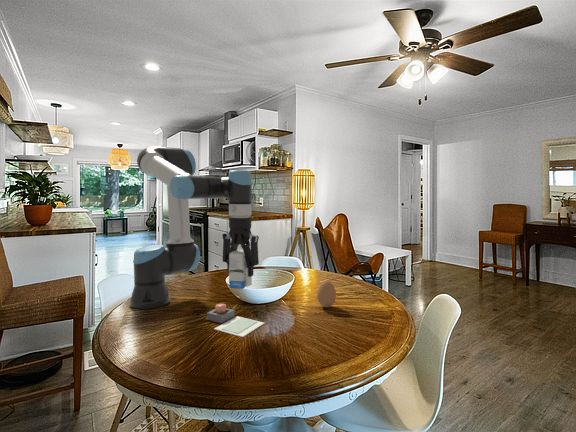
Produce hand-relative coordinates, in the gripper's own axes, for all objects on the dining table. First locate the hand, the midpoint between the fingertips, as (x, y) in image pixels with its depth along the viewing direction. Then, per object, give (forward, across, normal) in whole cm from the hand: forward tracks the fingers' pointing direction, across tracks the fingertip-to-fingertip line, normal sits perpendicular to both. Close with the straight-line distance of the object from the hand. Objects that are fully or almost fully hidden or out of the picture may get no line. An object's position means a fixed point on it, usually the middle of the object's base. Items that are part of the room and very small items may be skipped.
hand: (240, 284), depth 112 cm
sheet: (+15, 0, 0) cm, 15 cm away
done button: (+13, -10, +2) cm, 16 cm away
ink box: (+1, 0, 0) cm, 1 cm away
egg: (+15, +19, +32) cm, 40 cm away
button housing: (+15, -10, +2) cm, 18 cm away
